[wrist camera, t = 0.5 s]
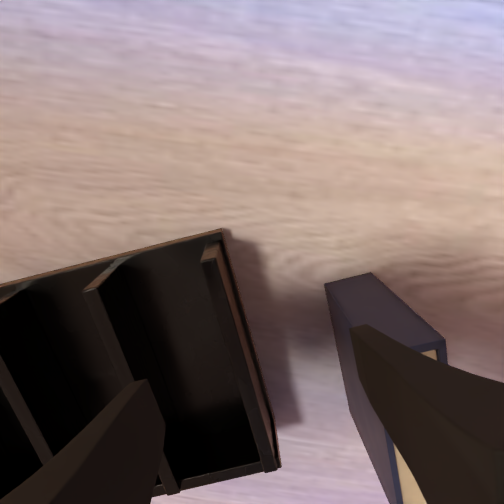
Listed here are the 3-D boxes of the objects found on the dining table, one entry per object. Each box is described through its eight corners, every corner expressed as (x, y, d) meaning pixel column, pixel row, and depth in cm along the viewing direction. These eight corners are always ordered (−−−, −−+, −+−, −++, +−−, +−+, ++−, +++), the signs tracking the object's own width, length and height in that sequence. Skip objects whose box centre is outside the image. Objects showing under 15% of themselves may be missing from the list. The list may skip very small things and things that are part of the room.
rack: (274, 417, 24) (282, 475, 20) (22, 477, 25) (-24, 546, 20) (221, 227, 20) (217, 248, 16) (-77, 303, 21) (-159, 342, 16)
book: (391, 402, 24) (463, 518, 16) (349, 412, 24) (401, 532, 17) (371, 271, 21) (445, 338, 14) (323, 283, 21) (371, 356, 14)
